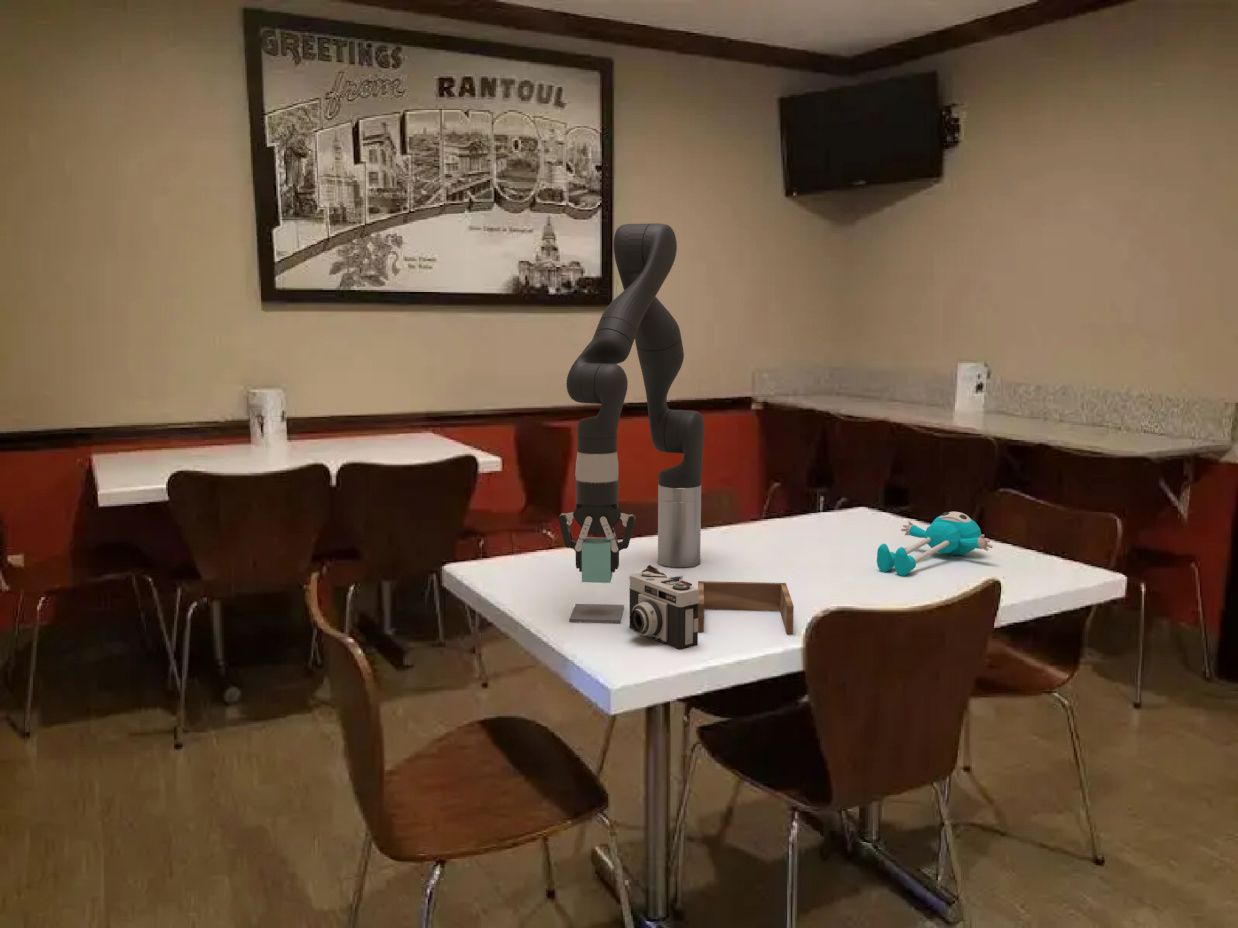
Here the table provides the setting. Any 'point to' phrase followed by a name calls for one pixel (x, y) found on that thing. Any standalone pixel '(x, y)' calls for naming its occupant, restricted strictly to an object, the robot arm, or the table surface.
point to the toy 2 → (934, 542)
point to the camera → (664, 609)
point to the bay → (745, 599)
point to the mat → (597, 613)
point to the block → (596, 560)
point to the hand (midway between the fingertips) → (597, 570)
